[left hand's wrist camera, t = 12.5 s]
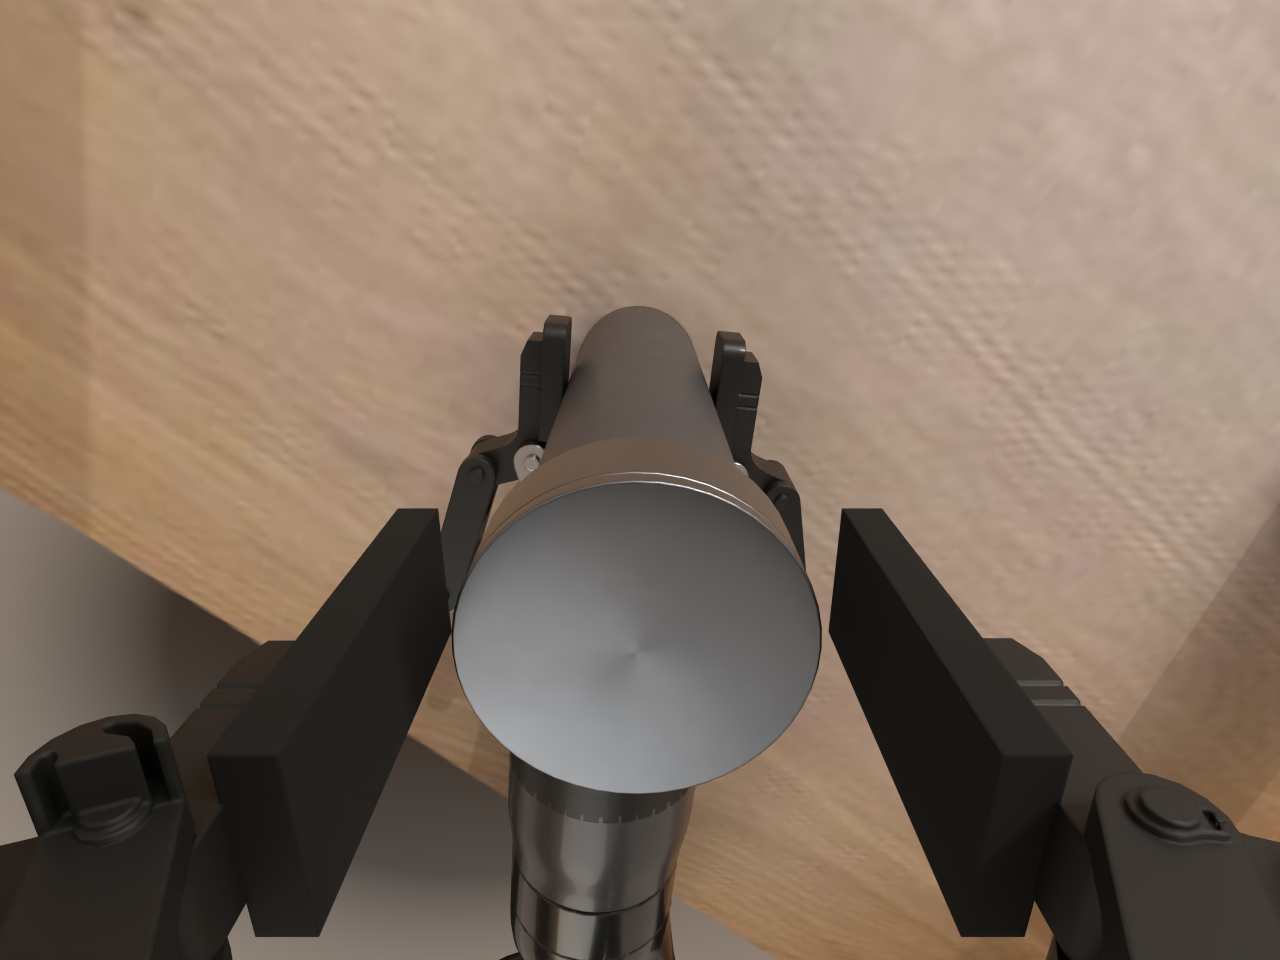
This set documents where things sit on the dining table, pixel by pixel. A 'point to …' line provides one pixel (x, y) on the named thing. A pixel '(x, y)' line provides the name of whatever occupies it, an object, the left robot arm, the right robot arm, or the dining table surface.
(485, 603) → the lid
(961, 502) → the dining table surface
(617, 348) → the dark grey cylinder
